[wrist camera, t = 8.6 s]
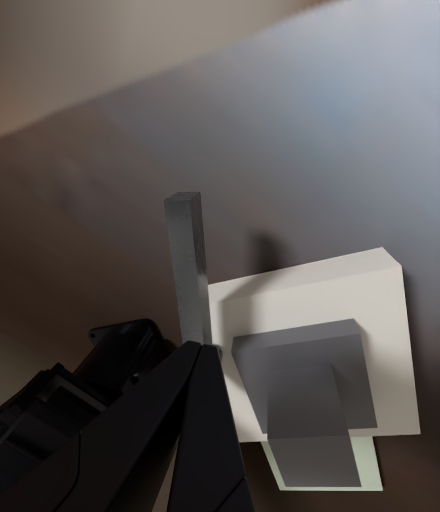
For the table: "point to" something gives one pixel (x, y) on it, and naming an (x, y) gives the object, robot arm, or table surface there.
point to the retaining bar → (189, 266)
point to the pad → (364, 463)
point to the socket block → (321, 311)
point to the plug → (309, 398)
